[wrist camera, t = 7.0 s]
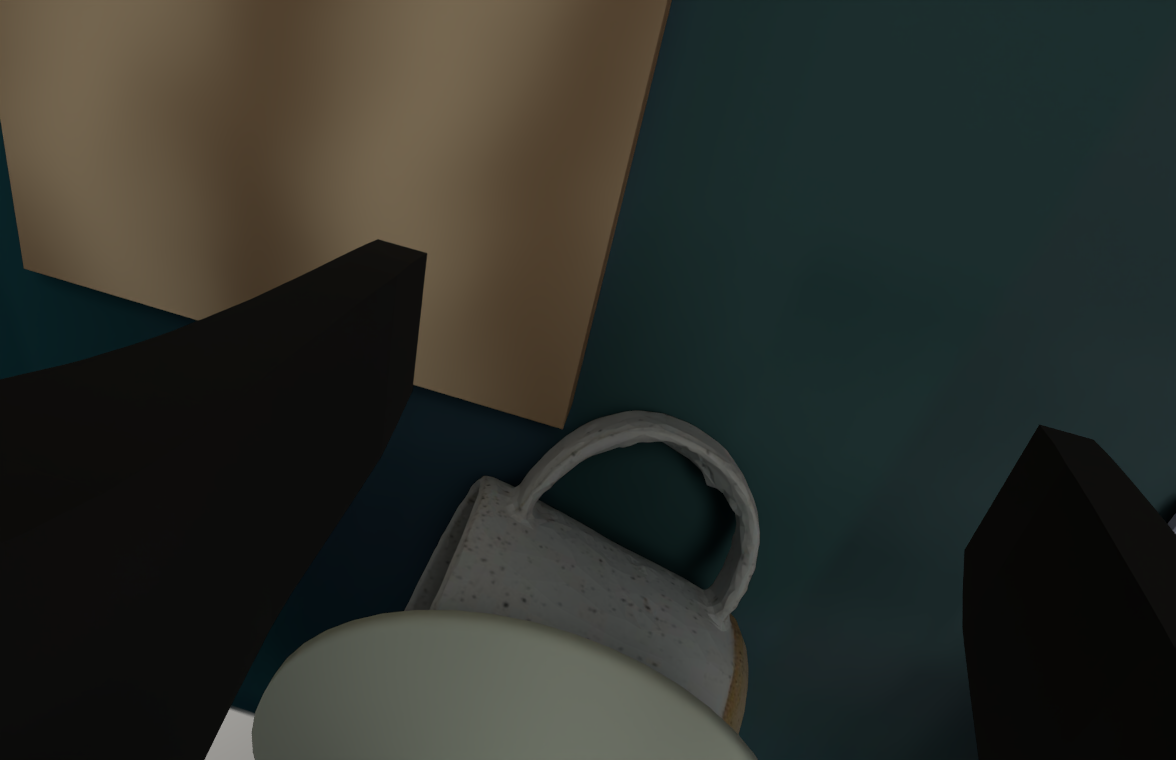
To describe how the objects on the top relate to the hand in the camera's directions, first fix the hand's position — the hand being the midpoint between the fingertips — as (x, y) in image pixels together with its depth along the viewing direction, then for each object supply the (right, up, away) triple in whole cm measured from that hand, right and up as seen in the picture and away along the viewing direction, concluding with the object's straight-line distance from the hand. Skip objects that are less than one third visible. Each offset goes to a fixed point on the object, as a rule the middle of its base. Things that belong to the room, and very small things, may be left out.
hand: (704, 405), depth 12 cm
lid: (-3, -9, +10) cm, 14 cm away
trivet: (-7, +7, +10) cm, 14 cm away
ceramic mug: (-1, -4, +16) cm, 17 cm away
